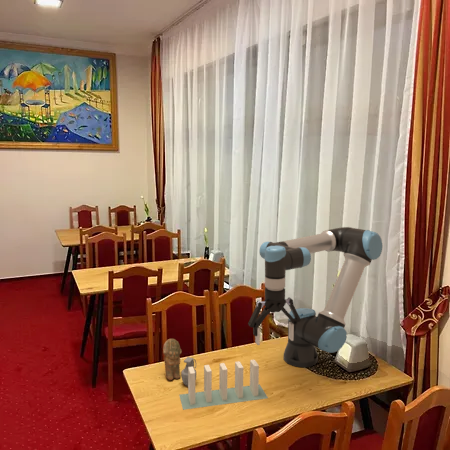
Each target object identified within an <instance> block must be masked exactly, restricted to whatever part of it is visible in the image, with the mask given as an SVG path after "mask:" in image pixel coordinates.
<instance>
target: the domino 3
mask: <svg viewBox="0 0 450 450" xmlns="http://www.w3.org/2000/svg"><path fill="white" fill-rule="evenodd" d="M218 381H219V382H218V383H219V389H218V390H219V393H220V396H221V398H222V400H227V388H228V368H227V366H226V364H225V362H221V363H219V380H218Z"/></svg>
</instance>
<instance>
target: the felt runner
mask: <svg viewBox="0 0 450 450" xmlns="http://www.w3.org/2000/svg"><path fill="white" fill-rule="evenodd" d="M178 396H179V399H180V404H181V407H182V410H183V411H184V410H185V411H186V410H191V409H199V408H206V407H213V406H222V405H227V404H235V403H243V402H249V401H259V400H264V399H269V397H268V395H267V393H266V392H265V391H264V389H263V387H262V386H261V384H260V383H258V396H253V394H252V392H251V391H250V385H243V398H238V397H237V395H236V393H235V387H227V400H222V398H221V396H220V393H219V389H214V390H213V389H212V402H206V399H205V396H204V391H197V392H196V391H195V404H191V405H190V401H189V398H188V393H181V394H179V395H178Z"/></svg>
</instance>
